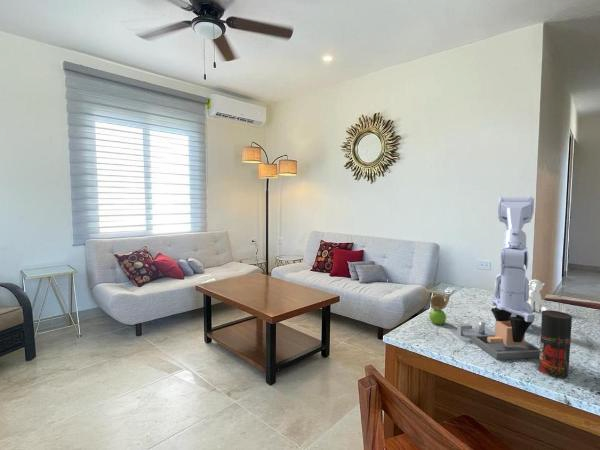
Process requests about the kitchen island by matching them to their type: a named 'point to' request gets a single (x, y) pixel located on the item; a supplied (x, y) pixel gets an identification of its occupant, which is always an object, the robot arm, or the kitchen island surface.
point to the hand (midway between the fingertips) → (509, 337)
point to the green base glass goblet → (438, 309)
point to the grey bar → (468, 326)
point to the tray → (505, 349)
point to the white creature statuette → (536, 296)
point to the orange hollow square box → (504, 334)
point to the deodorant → (555, 343)
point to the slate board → (471, 333)
